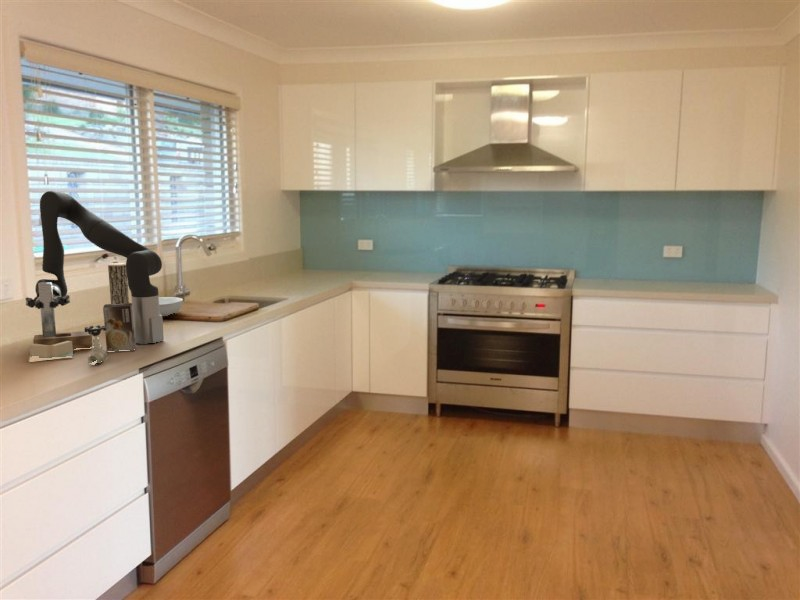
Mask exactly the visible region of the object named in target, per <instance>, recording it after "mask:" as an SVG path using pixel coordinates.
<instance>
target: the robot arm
mask: <svg viewBox="0 0 800 600" xmlns="http://www.w3.org/2000/svg"><path fill="white" fill-rule="evenodd" d="M39 213H40V220H41V222H40V223H41V224H40V225H41V230H42V231H41V232H42V241H43V243H42V244H43V246H42V247H43V249H42V250H43V251H42V263H41V264H42V265H41V266H42V271H43V272H44V273H47V274H51V275H53V276H55V277H56V278H57V279H50V278H49V279H48V278H47V279H46V278H45V279H44V278H42V279H39V280H37V282H36V284H35V289H34V290H35V293H36V297H34V298H33V297H29V296H27V297H25V306H27V307H29V308H35V309H38V310H40V298H39V286H38V283H41V282H52V291H53V308H54V309H56V308H57V307H59V305H60V306H62V307H63V306H66V305H67V304H69V303H71V300H70V299H71V298H70V295H68V286H67V282H66V277H65V272H64V267H65V266H64V265H65V250H64V249H65V248H64V245H63V241H62V239H61V236H60V234H59V230H58V220H59V219H58V218H62V219H65V220H67V221H69V222H71V223H73V225H76V226H77V227H78V228H79V229H80V230H81V233H82V235H83V236H84V237H85V238H86V240H87V241H89V242H90V243H92V244H94V246H96V247H98V248H99V249H101V250H103V251H106V252H109V253H111V254H115V255H118V256H121V257H124V258H126V261H125V263H126V272H127V283H128V290H129V291H130V296H131V303H132V311H133V323H134V334H135V344H136V343H141V344H140V345H148V344H147V343H155V344H157V343H156V342H158V343H160V341H161V342H164V341H163V340H165V339H164V321H163V320H164V319H163V317H162V315H160V311H159V297H160V296H159V288H158V286H156V285H153V284H152V283H151V280H150V277H151V276H153V275H156V274H158V273H160V272H161V270H162V268H163V263H162V262H163V261H162V259H161V257H160V256H159V255H158V254H157V252H155V251H154V250H152V249H150V248H148V247H147V246H144V245H143V244H140V243H139V242H137V241H135V240H134V239H132V238H130V237H129V236H128V235H126V234H125V233H123V232H122V231H121V230H119V229H117V228H116V227H115V226H113V225H112V224H111V223H110V222H107V221H106V220H105V219H103V218H101V216H98V215H97V214H95V213H94V212H92V211H91V210H88V209H87V208H86V207H85V206H84V205H82V204H81V203H80V202H79V201H78V200H77V199H75V198H74V197H73V196H71V195H70V194H69V193H65V192H59V191H53V190H52V191H45V192H44V193H43V194H42V195H41V197H40V199H39Z"/></svg>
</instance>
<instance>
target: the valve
mask: <svg viewBox="0 0 800 600" xmlns="http://www.w3.org/2000/svg"><path fill="white" fill-rule="evenodd" d="M105 330H106V326H105V325H102V326H101V325H100V324H99V325H96V326H94V325H89V327H88V326H86V327H84V331H85V332H87V331H88V333H89V334H90V335H92V349H91V350H92V353H91V355H89V356H88V357H87V362H88V364H89V363H92V362H94V361H96V360H97V363H100V362H101V361H103V362H104V361H105V359H107V358H108V357H107V356H108V353H107V351H105V350H104V349H103V346H102V345H100V342H101V341H100V337H98V336H100V334H101V332H102V331H103V332H105ZM100 364H101V363H100Z"/></svg>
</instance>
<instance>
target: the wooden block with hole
mask: <svg viewBox="0 0 800 600" xmlns="http://www.w3.org/2000/svg"><path fill="white" fill-rule="evenodd" d="M65 341H72V346H73V349H76V348H90V347H92V346H93V336H92V335H90V334H89V333H88V331H87V332H85V330H81V331H69V332H58V333H57V332H56V336H54V337H43V334H36V335H34V336H33V339H32V342H33V343H32V344H42V345H54V344H58V343H61V342H65Z"/></svg>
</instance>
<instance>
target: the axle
mask: <svg viewBox="0 0 800 600" xmlns="http://www.w3.org/2000/svg"><path fill="white" fill-rule="evenodd" d="M38 286H39V298H40V309H39V310H40V317H41V319H40V322H41V329H42V330H41V331H42V333H41V334H42V335H43V337H54V336H56V333H57V329H56V328H57V327H56V315H55V308H53V291H52V282H41V283H38Z"/></svg>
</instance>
